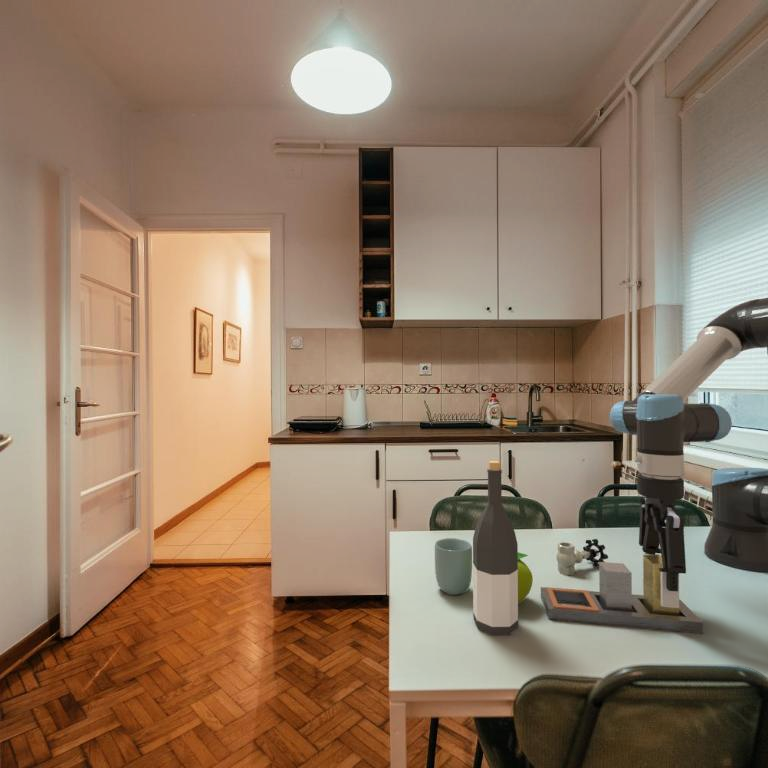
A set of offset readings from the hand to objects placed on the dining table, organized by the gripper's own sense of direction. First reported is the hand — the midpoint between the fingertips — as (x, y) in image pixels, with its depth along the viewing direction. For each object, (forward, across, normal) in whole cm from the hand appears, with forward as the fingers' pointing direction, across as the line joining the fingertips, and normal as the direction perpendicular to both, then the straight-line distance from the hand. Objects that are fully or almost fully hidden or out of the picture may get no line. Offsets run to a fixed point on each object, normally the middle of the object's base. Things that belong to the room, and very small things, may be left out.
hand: (660, 596), depth 82 cm
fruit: (+4, -1, -28) cm, 28 cm away
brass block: (+4, 0, 0) cm, 4 cm away
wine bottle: (+4, +8, -31) cm, 32 cm away
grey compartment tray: (+4, 0, -8) cm, 9 cm away
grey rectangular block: (+4, 0, -8) cm, 9 cm away
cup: (+4, -4, -39) cm, 39 cm away
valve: (+4, -20, -10) cm, 23 cm away
